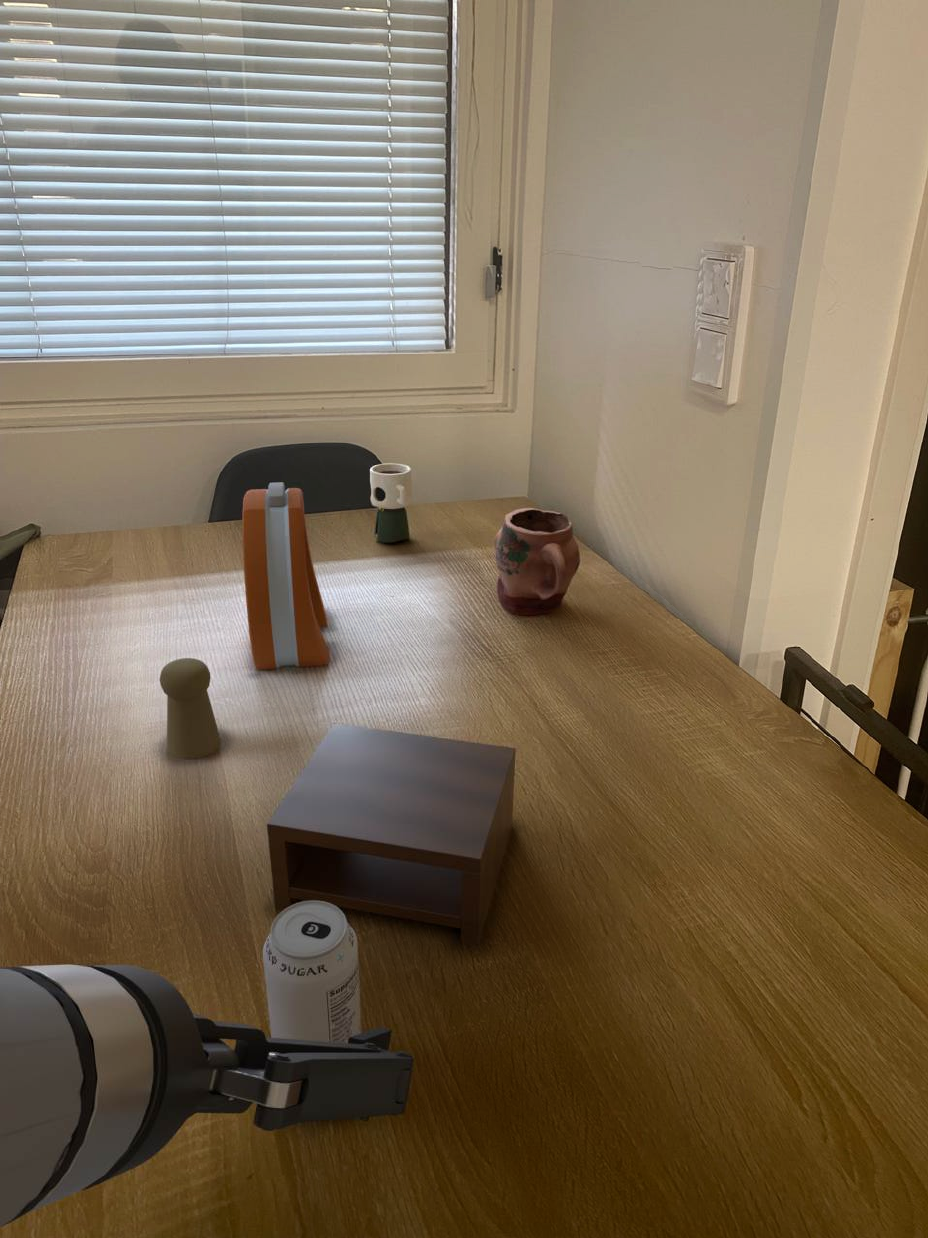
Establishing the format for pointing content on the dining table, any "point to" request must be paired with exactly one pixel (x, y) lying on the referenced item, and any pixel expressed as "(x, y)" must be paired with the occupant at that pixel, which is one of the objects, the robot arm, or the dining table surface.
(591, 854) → the dining table surface
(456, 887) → the shelf
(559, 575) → the pink ceramic mug
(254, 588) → the alarm clock
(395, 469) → the character mug
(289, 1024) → the energy drink can
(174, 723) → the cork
